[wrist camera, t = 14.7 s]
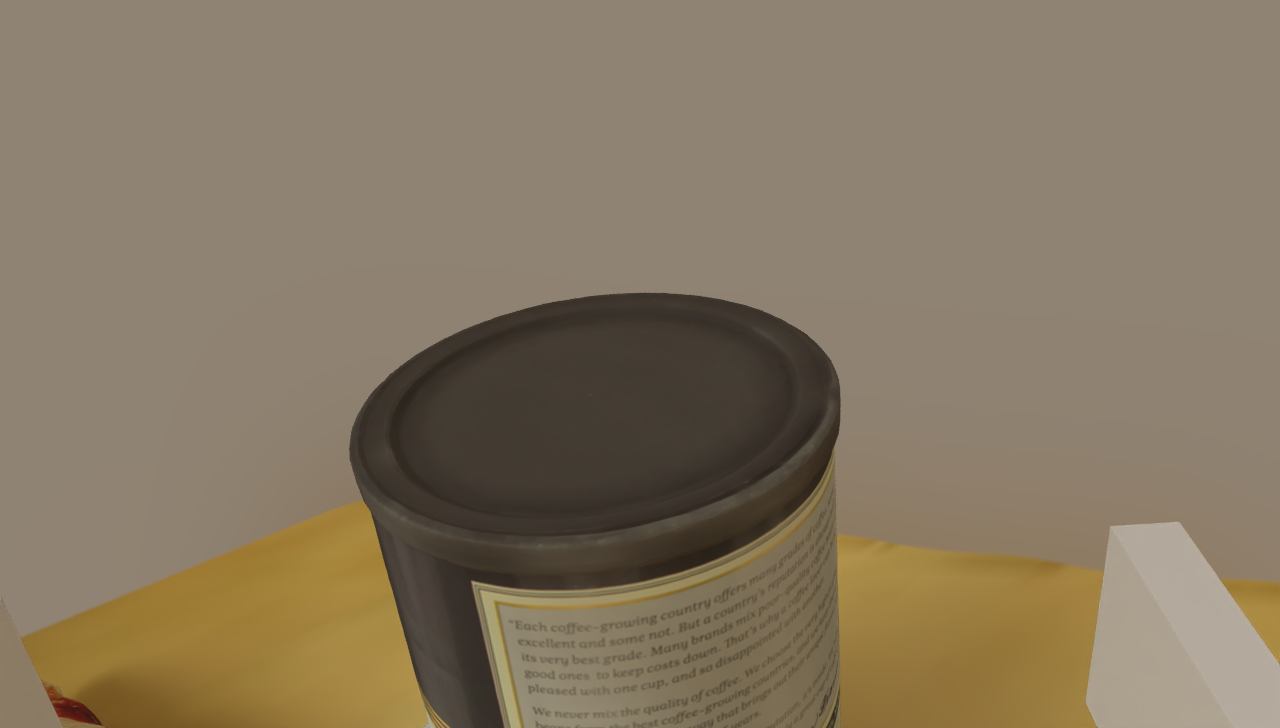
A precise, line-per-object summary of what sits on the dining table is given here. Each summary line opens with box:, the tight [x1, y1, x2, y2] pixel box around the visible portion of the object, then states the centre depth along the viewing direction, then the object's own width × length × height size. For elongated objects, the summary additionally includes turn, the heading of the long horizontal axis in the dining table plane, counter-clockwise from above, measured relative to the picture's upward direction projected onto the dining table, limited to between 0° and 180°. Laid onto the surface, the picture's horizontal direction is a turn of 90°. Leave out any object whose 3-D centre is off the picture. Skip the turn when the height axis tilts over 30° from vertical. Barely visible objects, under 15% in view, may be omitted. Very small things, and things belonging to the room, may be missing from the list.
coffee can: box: [349, 293, 841, 728], centre depth 26 cm, size 10×10×14 cm
